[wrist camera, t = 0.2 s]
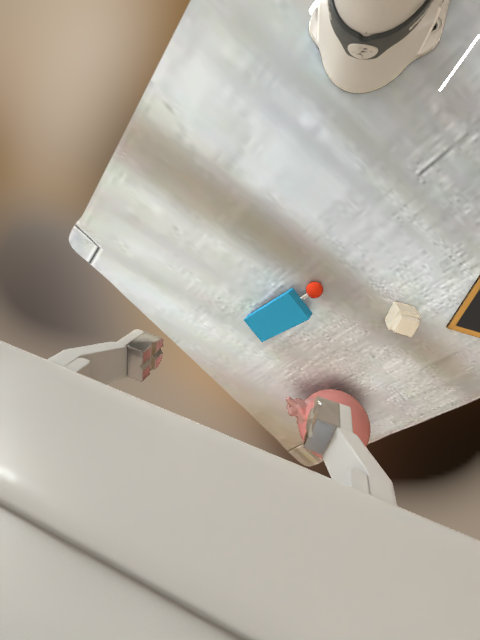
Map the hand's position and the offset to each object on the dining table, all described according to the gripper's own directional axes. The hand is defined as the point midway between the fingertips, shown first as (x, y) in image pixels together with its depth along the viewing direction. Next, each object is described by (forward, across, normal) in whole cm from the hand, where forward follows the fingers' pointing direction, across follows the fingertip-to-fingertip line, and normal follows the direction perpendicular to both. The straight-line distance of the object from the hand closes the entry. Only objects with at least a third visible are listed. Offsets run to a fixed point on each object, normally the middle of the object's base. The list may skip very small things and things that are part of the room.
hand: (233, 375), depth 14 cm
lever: (+48, 0, +15) cm, 50 cm away
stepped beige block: (+48, -22, +9) cm, 53 cm away
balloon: (+48, -16, +35) cm, 61 cm away
